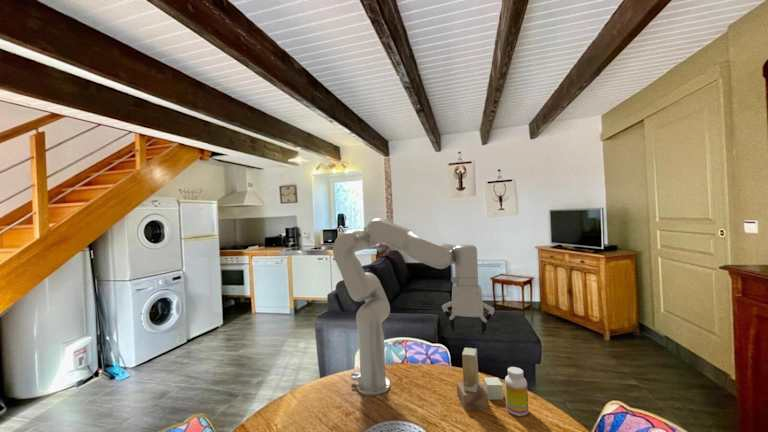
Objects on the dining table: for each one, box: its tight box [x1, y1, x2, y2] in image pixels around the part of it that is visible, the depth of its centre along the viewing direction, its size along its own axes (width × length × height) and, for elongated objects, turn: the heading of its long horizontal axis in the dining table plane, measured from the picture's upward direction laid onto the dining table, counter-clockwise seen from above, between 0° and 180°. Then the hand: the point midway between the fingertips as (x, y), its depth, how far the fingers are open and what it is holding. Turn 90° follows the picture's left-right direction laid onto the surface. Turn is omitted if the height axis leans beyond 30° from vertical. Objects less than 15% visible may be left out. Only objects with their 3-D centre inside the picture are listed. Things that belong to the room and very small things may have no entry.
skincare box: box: [461, 347, 480, 393], centre depth 105 cm, size 6×4×12 cm
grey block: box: [483, 376, 504, 401], centre depth 108 cm, size 5×5×5 cm
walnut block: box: [456, 380, 489, 411], centre depth 104 cm, size 8×8×5 cm
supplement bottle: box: [504, 366, 529, 417], centre depth 99 cm, size 7×7×13 cm
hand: (468, 331), depth 105 cm, fingers open, 9 cm apart
